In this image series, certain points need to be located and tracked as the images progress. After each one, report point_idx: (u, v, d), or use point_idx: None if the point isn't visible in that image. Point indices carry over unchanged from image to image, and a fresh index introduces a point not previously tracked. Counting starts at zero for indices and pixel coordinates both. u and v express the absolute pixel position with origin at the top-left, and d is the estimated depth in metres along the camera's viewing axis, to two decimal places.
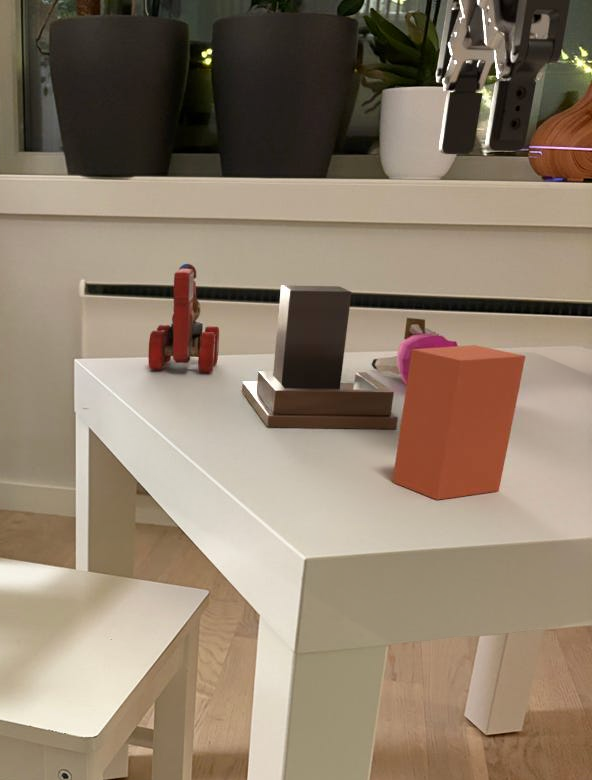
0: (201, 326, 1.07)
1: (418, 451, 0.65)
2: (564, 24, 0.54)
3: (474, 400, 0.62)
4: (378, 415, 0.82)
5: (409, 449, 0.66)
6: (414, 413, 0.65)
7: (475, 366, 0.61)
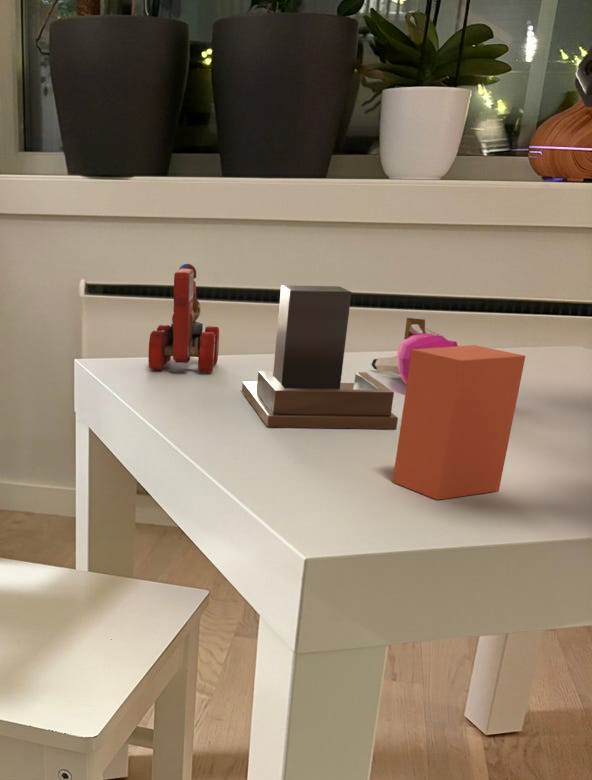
0: (201, 326, 1.07)
1: (418, 451, 0.65)
2: None
3: (474, 400, 0.62)
4: (378, 415, 0.82)
5: (409, 449, 0.66)
6: (414, 413, 0.65)
7: (475, 366, 0.61)
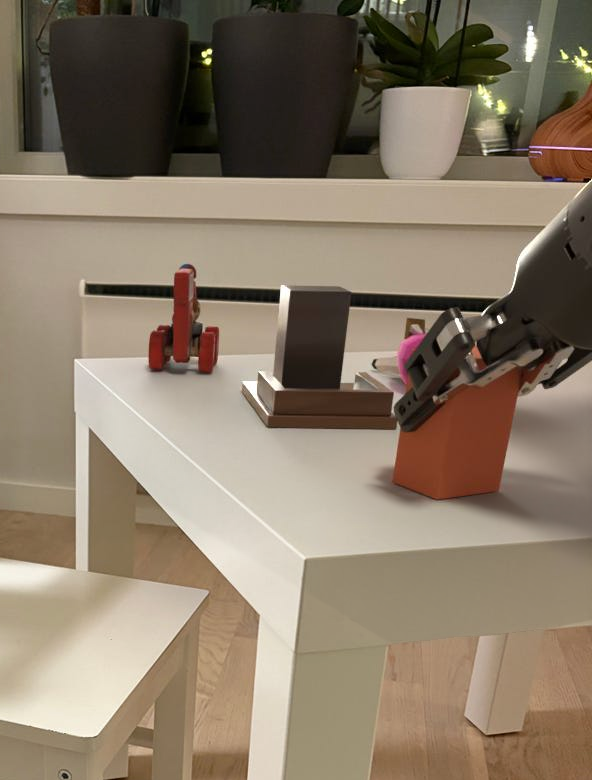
0: (201, 326, 1.07)
1: (418, 451, 0.65)
2: None
3: (474, 399, 0.62)
4: (378, 415, 0.82)
5: (409, 448, 0.66)
6: None
7: None
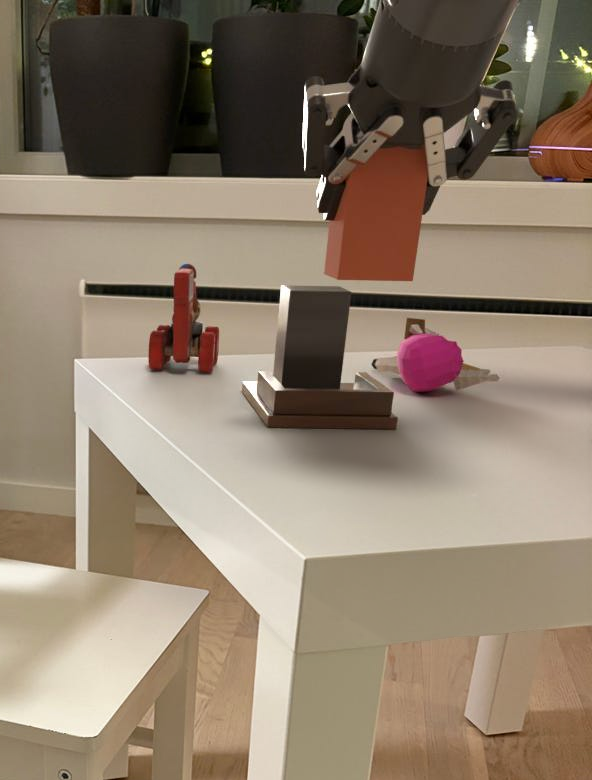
0: (201, 326, 1.07)
1: (334, 238, 0.71)
2: None
3: (373, 181, 0.67)
4: (378, 415, 0.82)
5: (331, 237, 0.72)
6: None
7: None
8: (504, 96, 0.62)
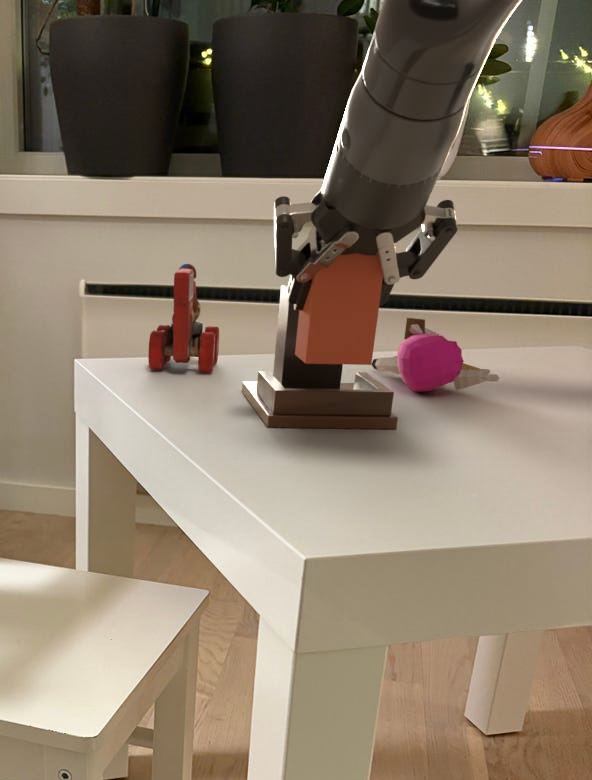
0: (201, 326, 1.07)
1: (302, 325, 0.81)
2: None
3: (335, 281, 0.77)
4: (378, 415, 0.82)
5: (300, 324, 0.82)
6: None
7: None
8: (446, 214, 0.72)
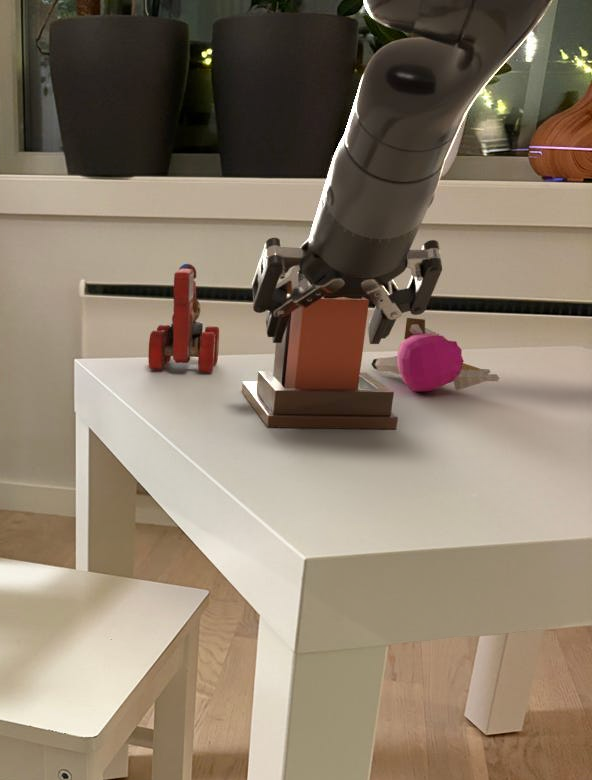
0: (201, 326, 1.07)
1: (290, 371, 0.85)
2: None
3: (320, 331, 0.82)
4: (378, 415, 0.82)
5: (288, 369, 0.86)
6: (291, 341, 0.85)
7: (318, 304, 0.81)
8: (429, 255, 0.76)
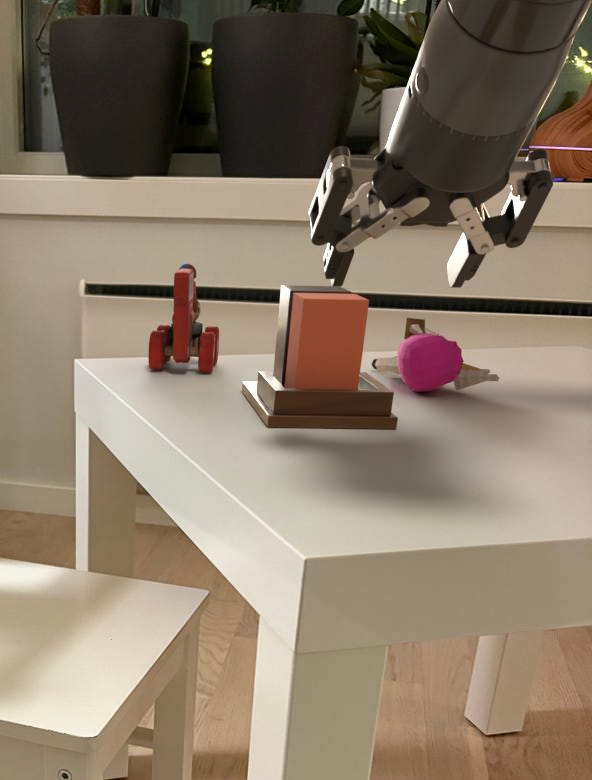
0: (201, 326, 1.07)
1: (290, 371, 0.85)
2: None
3: (320, 331, 0.82)
4: (378, 415, 0.82)
5: (288, 369, 0.86)
6: (291, 341, 0.85)
7: (318, 304, 0.81)
8: (537, 167, 0.60)
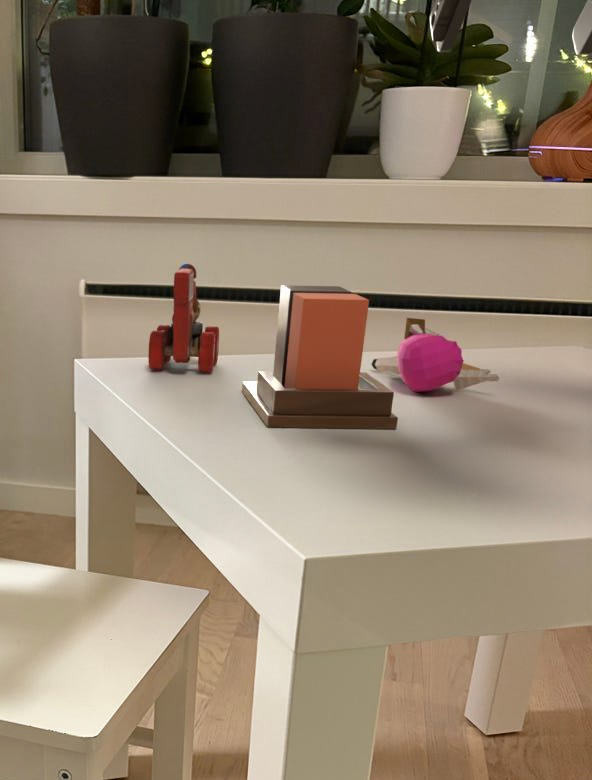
0: (201, 326, 1.07)
1: (290, 371, 0.85)
2: None
3: (320, 331, 0.82)
4: (378, 415, 0.82)
5: (288, 369, 0.86)
6: (291, 341, 0.85)
7: (318, 304, 0.81)
8: None
